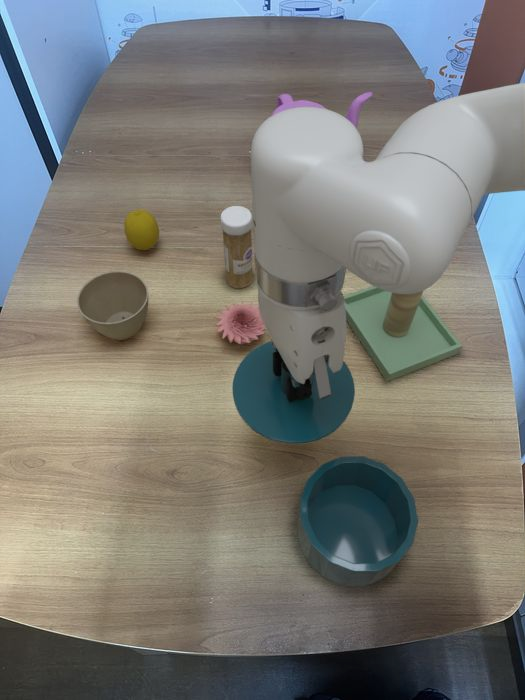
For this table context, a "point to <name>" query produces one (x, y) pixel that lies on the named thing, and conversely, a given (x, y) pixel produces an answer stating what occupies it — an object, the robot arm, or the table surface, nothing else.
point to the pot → (355, 520)
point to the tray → (398, 352)
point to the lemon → (141, 229)
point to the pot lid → (277, 412)
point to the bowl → (114, 303)
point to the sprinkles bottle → (237, 245)
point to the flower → (241, 323)
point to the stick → (401, 313)
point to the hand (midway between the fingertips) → (293, 382)
